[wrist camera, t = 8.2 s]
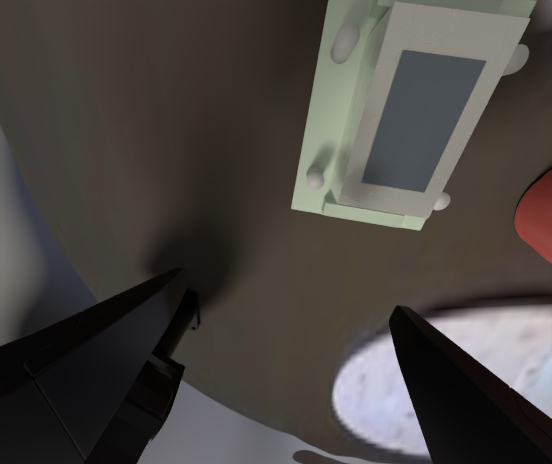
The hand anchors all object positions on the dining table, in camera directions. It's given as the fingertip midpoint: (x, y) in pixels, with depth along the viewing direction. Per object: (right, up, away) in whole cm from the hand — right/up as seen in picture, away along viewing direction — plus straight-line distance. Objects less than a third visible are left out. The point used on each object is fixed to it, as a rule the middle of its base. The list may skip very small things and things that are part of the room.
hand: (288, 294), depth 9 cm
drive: (+7, +10, +6) cm, 13 cm away
